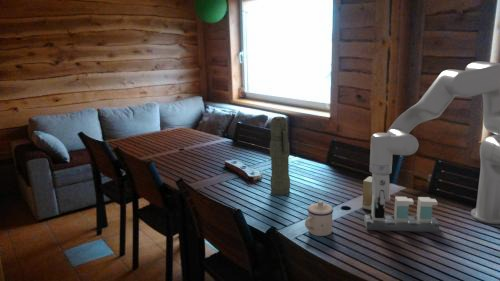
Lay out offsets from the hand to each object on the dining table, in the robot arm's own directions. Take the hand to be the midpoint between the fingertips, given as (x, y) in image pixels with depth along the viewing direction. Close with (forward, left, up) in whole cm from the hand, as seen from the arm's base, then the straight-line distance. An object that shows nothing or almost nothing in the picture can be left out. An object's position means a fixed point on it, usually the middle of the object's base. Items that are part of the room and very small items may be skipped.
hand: (378, 214), depth 148 cm
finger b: (-8, 0, -3) cm, 9 cm away
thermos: (+38, -31, -5) cm, 50 cm away
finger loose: (0, 0, -2) cm, 2 cm away
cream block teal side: (-16, 0, -3) cm, 16 cm away
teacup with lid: (+22, +6, -5) cm, 24 cm away
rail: (-8, 0, -5) cm, 10 cm away
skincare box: (0, -17, -5) cm, 18 cm away
